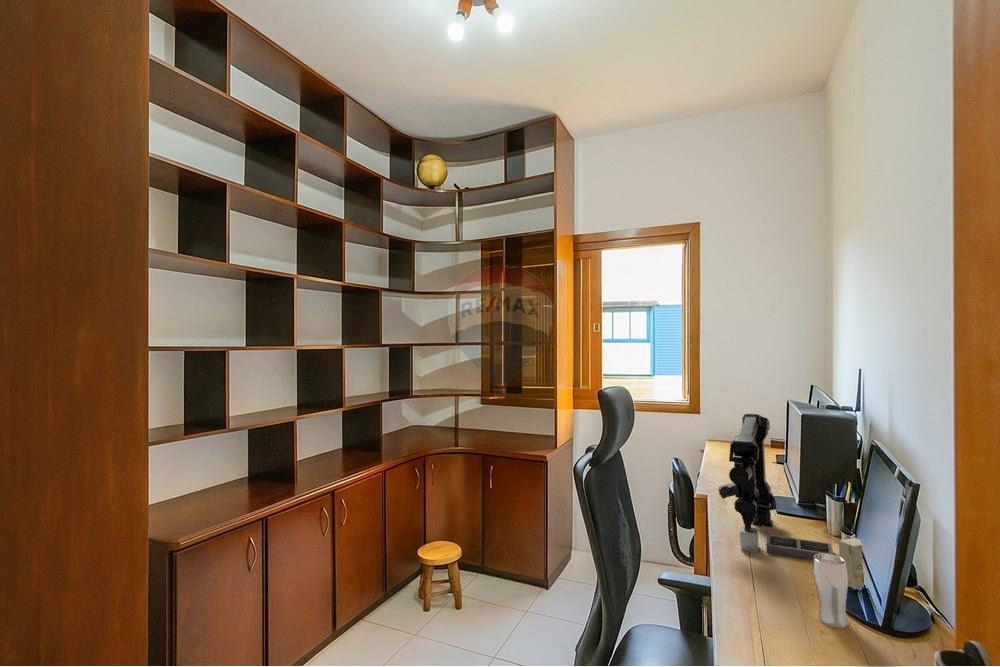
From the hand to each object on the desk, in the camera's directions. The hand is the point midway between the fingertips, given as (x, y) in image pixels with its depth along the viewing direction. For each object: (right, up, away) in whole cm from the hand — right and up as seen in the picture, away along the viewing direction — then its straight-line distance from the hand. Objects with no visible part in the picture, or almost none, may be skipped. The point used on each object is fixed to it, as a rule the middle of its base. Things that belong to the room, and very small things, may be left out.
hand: (748, 524), depth 159 cm
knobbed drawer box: (0, -8, 0) cm, 8 cm away
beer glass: (-1, -7, -42) cm, 43 cm away
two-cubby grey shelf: (+14, -7, -5) cm, 16 cm away
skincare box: (+16, -7, -27) cm, 32 cm away
